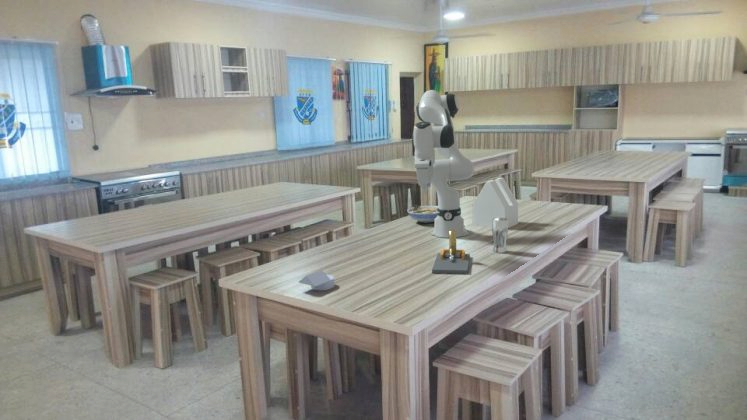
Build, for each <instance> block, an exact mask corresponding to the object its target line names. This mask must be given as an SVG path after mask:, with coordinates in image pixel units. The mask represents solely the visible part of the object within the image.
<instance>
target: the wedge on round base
mask: <svg viewBox="0 0 747 420" xmlns="http://www.w3.org/2000/svg"><path fill="white" fill-rule="evenodd" d="M298 283H300V284H304V285H307V286H310V288H311V290H314V291H328V290H331V289H333V288H335V276H334V275H331V274H327V273H326V272H324V271H323V270H322V269H319V270H317V271H315V272H313V273H310V274H307V275H305V276H304V277H303V278H301V279H300V280H299V281H298Z"/></svg>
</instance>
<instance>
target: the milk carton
mask: <svg viewBox="0 0 747 420" xmlns="http://www.w3.org/2000/svg"><path fill="white" fill-rule="evenodd" d="M471 206H472V209H471V211H472V227H473V226H475V227H481V228H489V229H492V220H493V218H507V221H508V229H510V228H512V227H514V226H517V225H518V224H519V203H518V201H517V199H516V197H515V195H514V194H513V192H512V190H511V189H510V187H509V185H508V183H507V182H506V180H505V178H504V177H498V178H495V179H490V180H488V181H487V180H486V182H485V183H484V185H483V187H482V188H481V189H480V191H479V193H478V195H477V196H476V199H475V200H474V201H473V204H472V205H471Z"/></svg>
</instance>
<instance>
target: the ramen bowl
mask: <svg viewBox="0 0 747 420" xmlns="http://www.w3.org/2000/svg"><path fill="white" fill-rule="evenodd" d="M437 208H438V205H422V206H421V205H420V203H418V204H417V203H415V205H414V206H413V207H410V208H409V207H408V208H407V209H406V210H407V213H408V214H409V216H410V217H411V219H413V220H415V221H417V222H420V223H421V224H432V223H435V218H436V217H437V216H438V215H437Z"/></svg>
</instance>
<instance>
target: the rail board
mask: <svg viewBox="0 0 747 420" xmlns="http://www.w3.org/2000/svg"><path fill="white" fill-rule="evenodd" d="M446 252H449V248H448V249H442V250H441V252H439V253H437V254H436V258H435V260H434V264H433V266H432V269H431V274H442V273H452V274H455V275H468V273H467V272H468V271H469V265H470V260H471V254H470V253H466V250H464V249H456V252H460V257H454V259H453V261H450V257H446ZM452 274H451V275H452Z"/></svg>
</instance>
